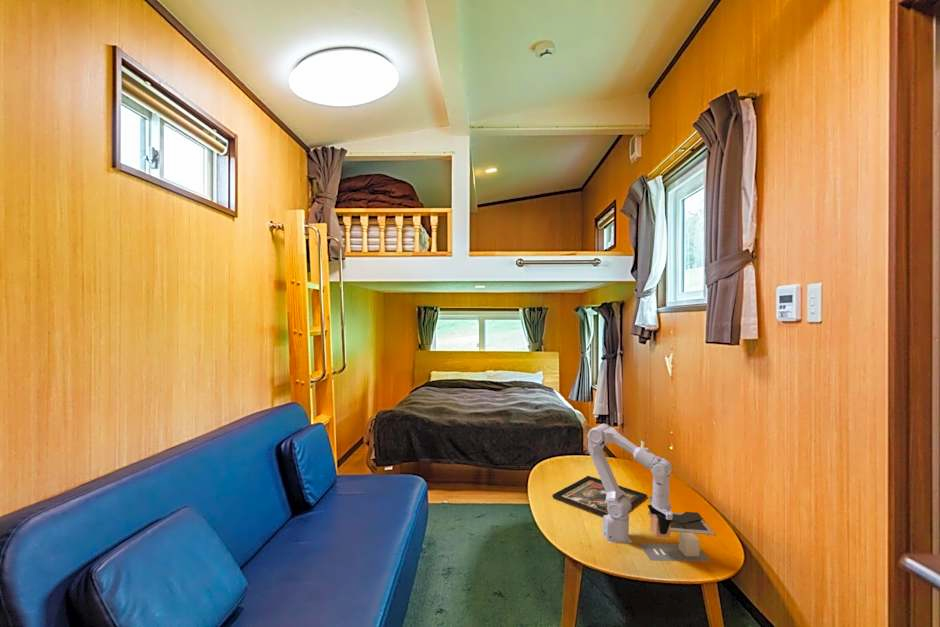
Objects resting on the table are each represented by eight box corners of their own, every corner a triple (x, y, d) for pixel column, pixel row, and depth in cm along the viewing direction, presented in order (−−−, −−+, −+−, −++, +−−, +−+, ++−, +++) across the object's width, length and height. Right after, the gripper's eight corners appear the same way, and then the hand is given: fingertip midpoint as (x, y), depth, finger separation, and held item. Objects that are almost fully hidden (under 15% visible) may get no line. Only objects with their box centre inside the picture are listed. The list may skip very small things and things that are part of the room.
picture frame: (697, 519, 187) (648, 515, 190) (697, 512, 187) (648, 508, 190) (713, 538, 172) (660, 533, 174) (714, 531, 172) (660, 527, 174)
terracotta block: (656, 536, 156) (656, 520, 156) (650, 529, 161) (650, 513, 161) (669, 537, 156) (670, 520, 156) (663, 530, 161) (664, 514, 161)
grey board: (650, 562, 153) (650, 560, 153) (638, 544, 164) (638, 543, 164) (711, 563, 153) (712, 561, 153) (695, 545, 164) (695, 544, 164)
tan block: (685, 556, 156) (686, 539, 156) (678, 548, 161) (679, 532, 161) (699, 556, 156) (699, 540, 156) (691, 548, 161) (692, 532, 161)
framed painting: (624, 526, 179) (625, 519, 179) (548, 502, 200) (548, 496, 200) (649, 496, 209) (649, 490, 209) (580, 478, 230) (581, 473, 230)
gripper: (681, 502, 151) (680, 540, 151) (662, 485, 166) (661, 520, 166) (661, 501, 151) (660, 540, 151) (644, 484, 165) (643, 519, 166)
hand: (659, 529), depth 158 cm, fingers closed on terracotta block, 5 cm apart
